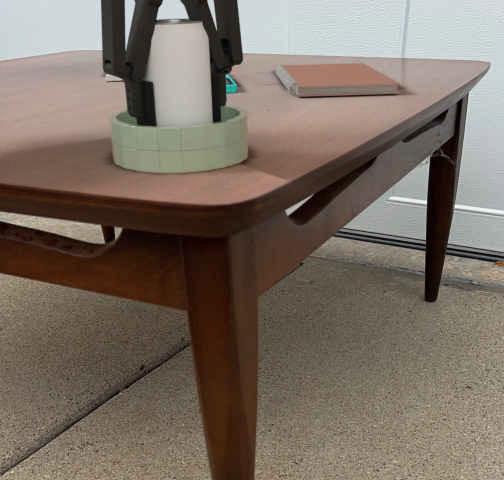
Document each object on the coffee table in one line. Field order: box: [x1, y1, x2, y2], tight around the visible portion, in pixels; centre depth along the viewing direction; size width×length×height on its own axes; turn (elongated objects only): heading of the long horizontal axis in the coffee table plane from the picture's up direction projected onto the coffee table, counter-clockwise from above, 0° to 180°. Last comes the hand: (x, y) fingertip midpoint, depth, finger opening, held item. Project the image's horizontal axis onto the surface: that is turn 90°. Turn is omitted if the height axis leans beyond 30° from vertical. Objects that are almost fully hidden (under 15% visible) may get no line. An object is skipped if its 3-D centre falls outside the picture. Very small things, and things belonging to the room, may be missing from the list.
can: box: [144, 18, 213, 127], centre depth 66 cm, size 6×6×12 cm
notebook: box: [275, 62, 401, 98], centre depth 118 cm, size 27×17×2 cm, turn 4°
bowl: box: [108, 104, 249, 174], centre depth 69 cm, size 13×13×5 cm
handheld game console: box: [226, 74, 238, 94], centre depth 118 cm, size 10×16×1 cm, turn 8°
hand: (181, 144), depth 69 cm, fingers closed on can, 6 cm apart
